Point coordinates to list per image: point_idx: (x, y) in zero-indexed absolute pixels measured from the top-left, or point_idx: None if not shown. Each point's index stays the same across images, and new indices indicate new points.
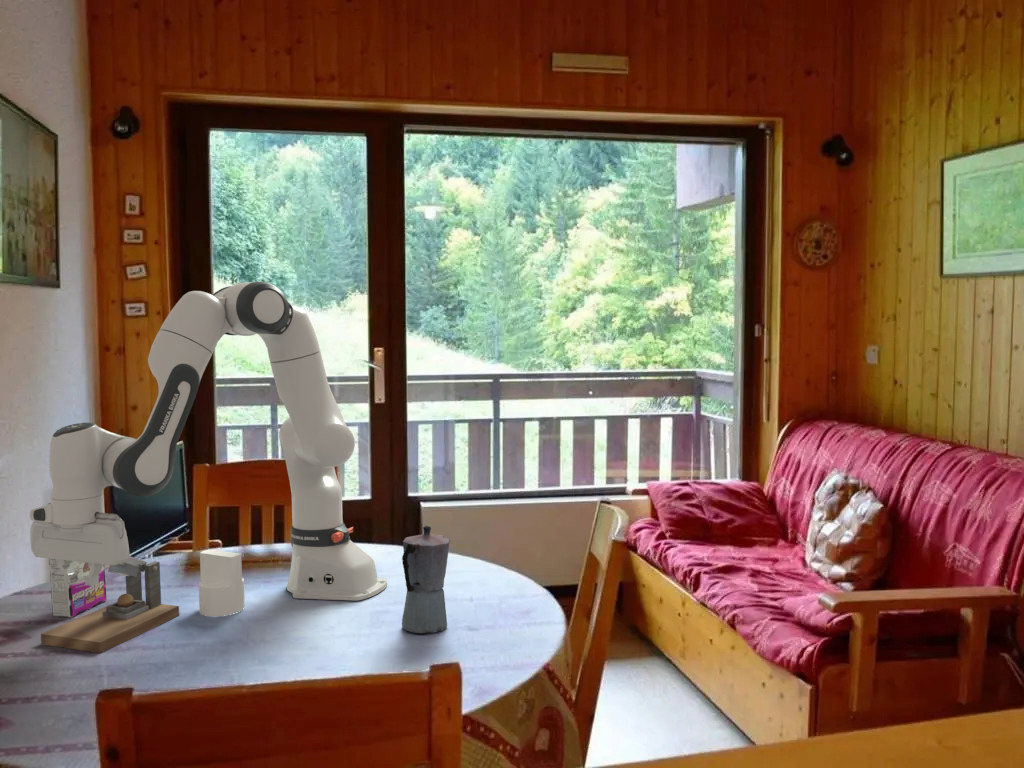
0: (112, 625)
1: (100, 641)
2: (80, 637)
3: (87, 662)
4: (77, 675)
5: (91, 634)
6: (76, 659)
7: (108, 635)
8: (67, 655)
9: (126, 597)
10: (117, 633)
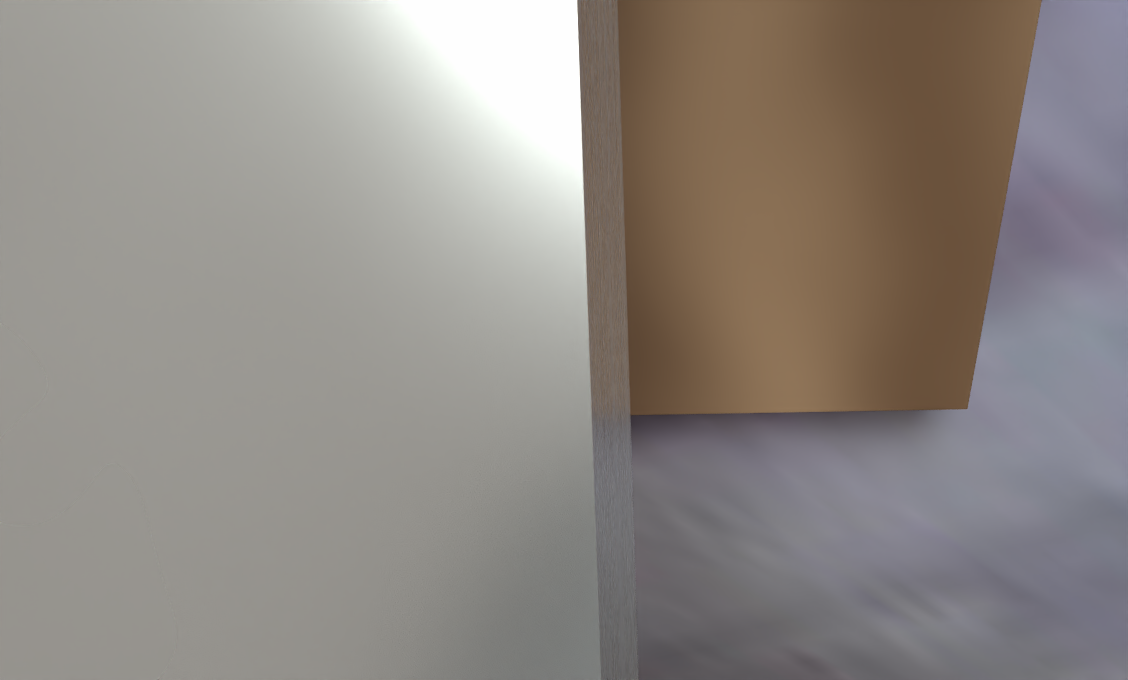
0: (726, 5)
1: (953, 391)
2: (673, 380)
3: (967, 493)
4: (1056, 640)
5: (715, 295)
6: (832, 479)
7: (920, 257)
8: (693, 448)
9: None
10: (984, 182)
